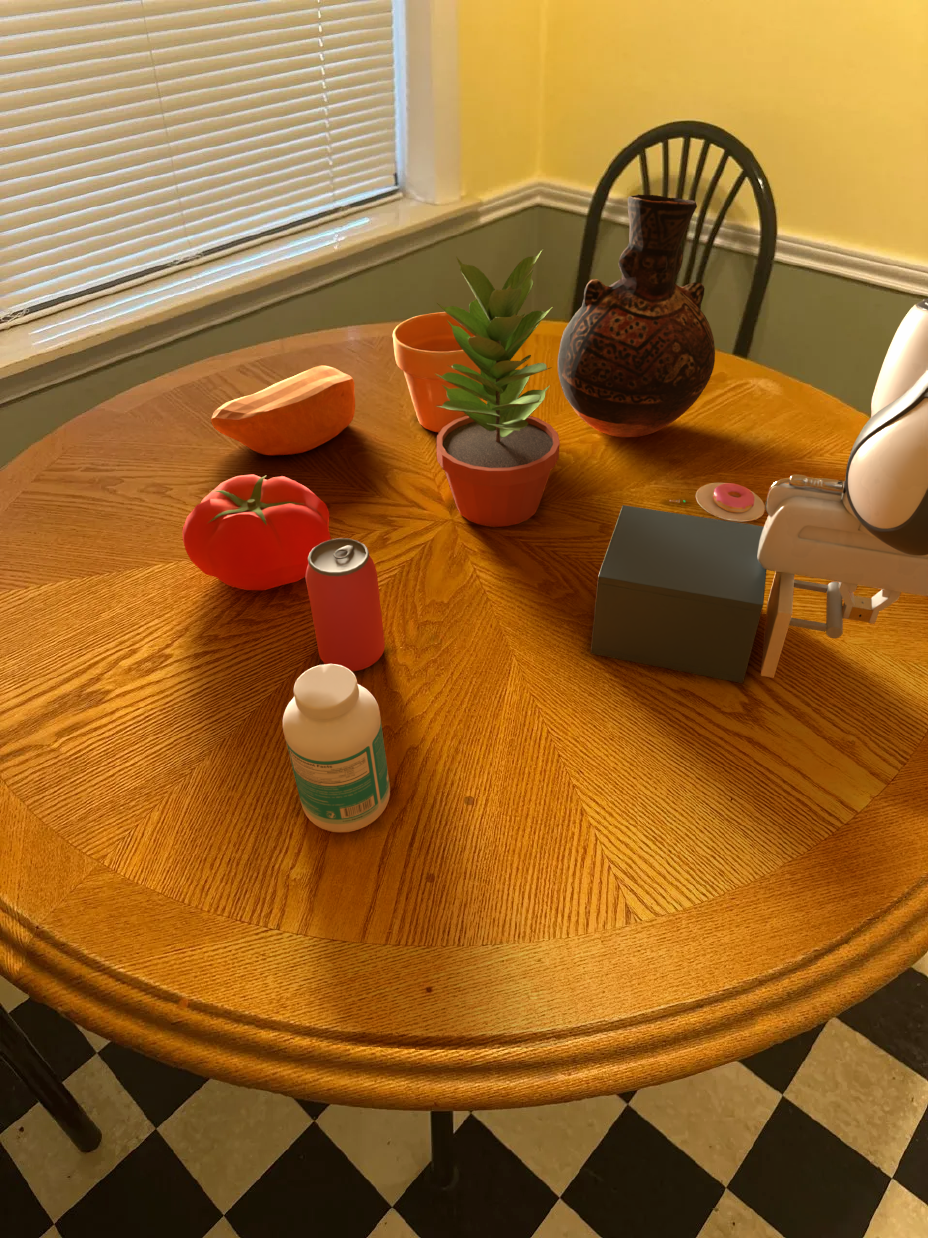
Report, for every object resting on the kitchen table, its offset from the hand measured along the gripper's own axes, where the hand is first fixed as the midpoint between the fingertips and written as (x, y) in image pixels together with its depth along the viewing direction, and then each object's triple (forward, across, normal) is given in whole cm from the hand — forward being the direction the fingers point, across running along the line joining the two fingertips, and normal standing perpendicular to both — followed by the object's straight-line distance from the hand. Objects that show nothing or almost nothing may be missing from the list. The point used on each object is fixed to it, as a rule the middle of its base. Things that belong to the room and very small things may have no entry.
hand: (857, 617), depth 80 cm
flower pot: (+6, -53, +37) cm, 65 cm away
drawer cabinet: (+5, -16, 0) cm, 17 cm away
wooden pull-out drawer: (+4, -11, 0) cm, 12 cm away
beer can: (+6, -46, -13) cm, 48 cm away
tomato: (+6, -61, -3) cm, 62 cm away
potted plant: (+6, -40, +17) cm, 44 cm away
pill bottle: (+5, -39, -30) cm, 50 cm away
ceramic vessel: (+6, -28, +42) cm, 51 cm away
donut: (+6, -14, +24) cm, 28 cm away
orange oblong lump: (+6, -73, +26) cm, 78 cm away
